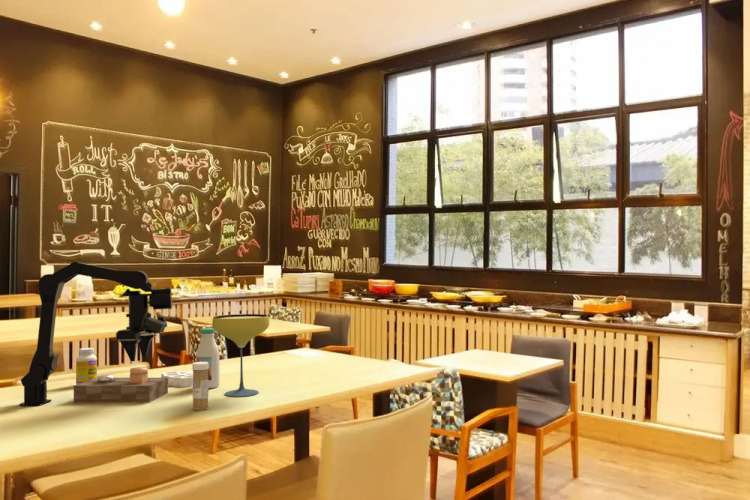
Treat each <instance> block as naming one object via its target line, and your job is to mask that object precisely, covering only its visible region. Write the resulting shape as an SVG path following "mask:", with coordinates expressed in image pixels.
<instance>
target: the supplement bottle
mask: <svg viewBox="0 0 750 500" xmlns="http://www.w3.org/2000/svg"><path fill="white" fill-rule="evenodd" d="M94 351H95V348H93V347H83V348H79V351H78V352H79V356H77V357H76V359H75V364H76V365H75V384H76V385H78V384H81V383H84V382H86V381H89V380H92V379H95V378H97V376H98V374H97V373H98V371H97V370H98V369H97V367H98V366H97V365H98V363H97V361H98V357H97V356H96V355H95V354H94Z"/></svg>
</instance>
